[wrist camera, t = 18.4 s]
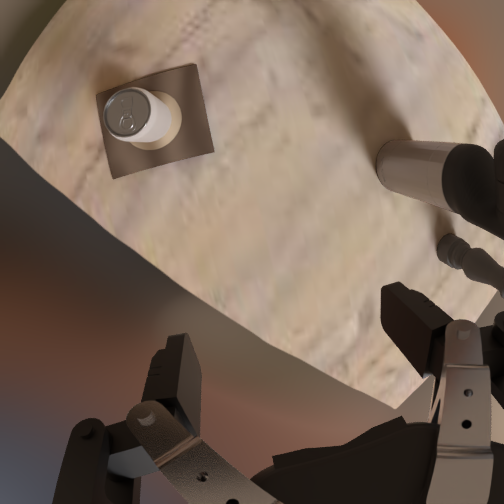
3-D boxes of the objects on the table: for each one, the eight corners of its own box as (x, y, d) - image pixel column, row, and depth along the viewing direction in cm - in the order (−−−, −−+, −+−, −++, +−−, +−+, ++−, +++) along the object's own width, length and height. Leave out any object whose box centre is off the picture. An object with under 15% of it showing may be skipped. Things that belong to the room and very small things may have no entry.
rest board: (196, 65, 38) (195, 63, 37) (214, 152, 43) (214, 152, 42) (98, 95, 38) (94, 94, 36) (114, 178, 43) (111, 179, 41)
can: (131, 145, 40) (101, 146, 29) (128, 103, 38) (98, 91, 27) (173, 139, 40) (156, 136, 29) (170, 96, 38) (153, 79, 27)
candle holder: (437, 236, 52) (529, 288, 28) (458, 231, 52) (547, 277, 29) (436, 265, 54) (520, 323, 30) (456, 258, 54) (538, 311, 31)
